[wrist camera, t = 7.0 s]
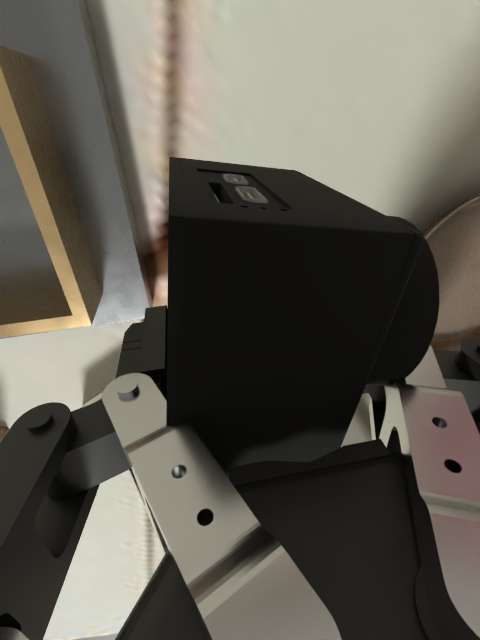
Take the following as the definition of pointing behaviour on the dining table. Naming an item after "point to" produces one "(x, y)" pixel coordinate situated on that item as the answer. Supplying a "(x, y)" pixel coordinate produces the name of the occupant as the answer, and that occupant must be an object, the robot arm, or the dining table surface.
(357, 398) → the digital camera
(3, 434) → the worn brown figurine
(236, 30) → the dining table surface
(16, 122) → the square wooden box
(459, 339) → the plant saucer
